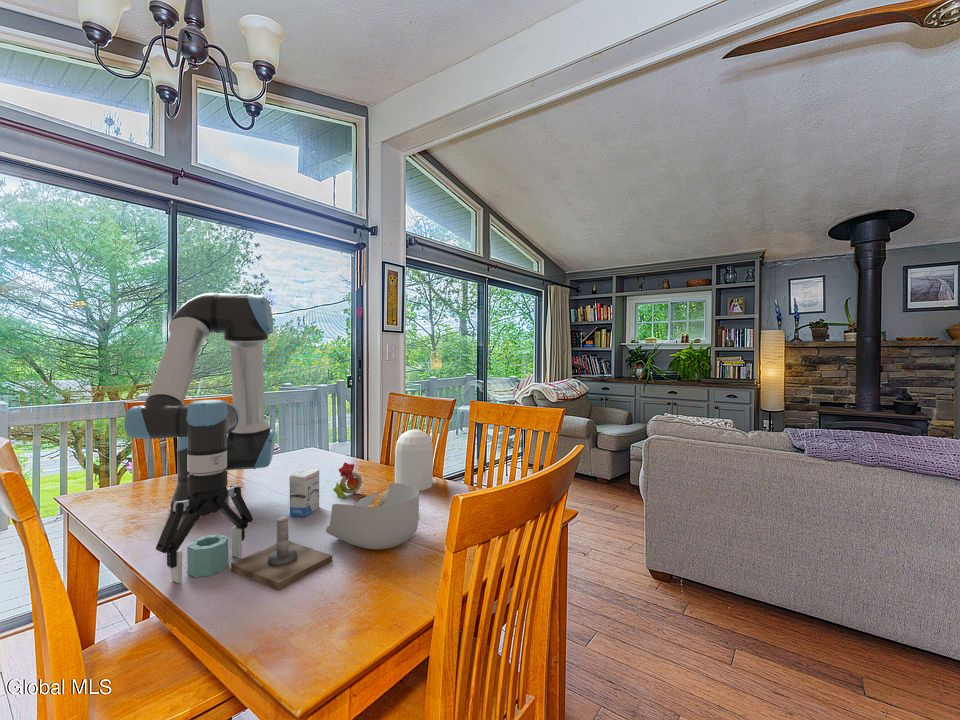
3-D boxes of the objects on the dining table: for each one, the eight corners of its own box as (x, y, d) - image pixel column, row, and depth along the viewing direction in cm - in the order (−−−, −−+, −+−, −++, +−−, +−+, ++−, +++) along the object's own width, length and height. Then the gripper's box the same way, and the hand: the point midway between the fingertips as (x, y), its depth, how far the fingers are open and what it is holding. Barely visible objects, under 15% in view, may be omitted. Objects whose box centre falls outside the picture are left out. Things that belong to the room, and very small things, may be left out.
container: (440, 483, 163) (440, 428, 162) (416, 493, 151) (416, 434, 151) (411, 477, 170) (412, 424, 169) (386, 486, 158) (386, 430, 158)
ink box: (304, 517, 129) (304, 477, 129) (288, 516, 130) (288, 475, 130) (320, 507, 138) (320, 469, 137) (305, 505, 139) (305, 468, 138)
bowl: (380, 564, 102) (380, 513, 102) (323, 544, 112) (323, 497, 112) (433, 534, 119) (434, 489, 119) (380, 518, 129) (380, 477, 129)
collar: (182, 571, 98) (181, 544, 98) (215, 557, 104) (215, 532, 104) (200, 580, 95) (200, 551, 94) (234, 565, 101) (233, 539, 101)
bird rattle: (350, 497, 153) (325, 491, 148) (362, 465, 155) (339, 458, 150) (357, 502, 148) (332, 497, 143) (370, 470, 150) (346, 463, 145)
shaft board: (230, 570, 99) (230, 523, 98) (286, 545, 111) (285, 503, 111) (278, 590, 91) (278, 539, 91) (332, 561, 103) (332, 516, 103)
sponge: (409, 527, 134) (420, 494, 139) (393, 517, 126) (405, 483, 131) (383, 521, 138) (395, 489, 142) (367, 512, 130) (380, 478, 135)
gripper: (154, 488, 86) (155, 599, 87) (268, 461, 108) (269, 550, 108) (134, 482, 90) (135, 588, 91) (249, 457, 111) (249, 543, 112)
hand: (208, 567), depth 99 cm, fingers open, 12 cm apart
